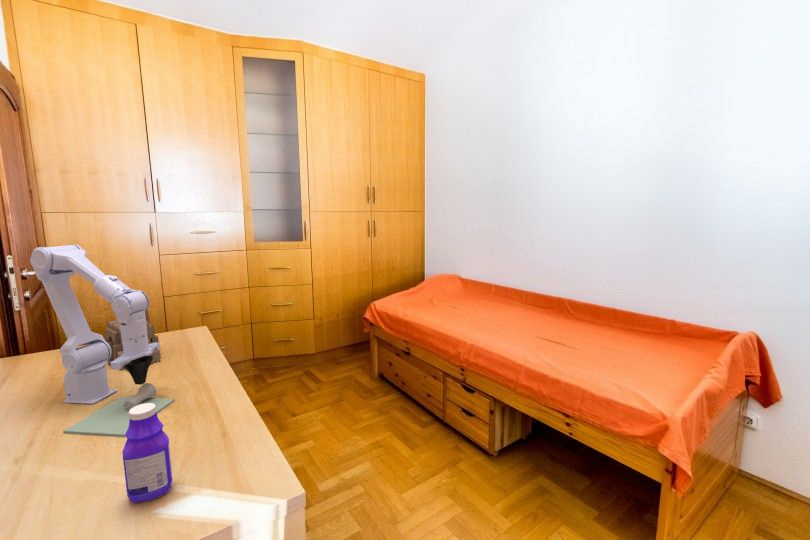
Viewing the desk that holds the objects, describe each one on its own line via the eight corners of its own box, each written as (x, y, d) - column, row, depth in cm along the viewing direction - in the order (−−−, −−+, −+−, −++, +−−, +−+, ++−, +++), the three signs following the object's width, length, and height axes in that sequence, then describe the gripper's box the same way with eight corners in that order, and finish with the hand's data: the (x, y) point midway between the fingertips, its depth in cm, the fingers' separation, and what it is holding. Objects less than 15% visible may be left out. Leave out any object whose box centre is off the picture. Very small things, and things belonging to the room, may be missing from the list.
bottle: (174, 477, 76) (166, 396, 73) (173, 495, 71) (163, 410, 68) (130, 489, 72) (119, 405, 69) (125, 510, 67) (113, 420, 65)
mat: (63, 433, 91) (63, 430, 90) (122, 398, 107) (122, 396, 107) (124, 436, 89) (124, 434, 89) (174, 401, 106) (174, 399, 106)
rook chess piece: (157, 397, 107) (136, 414, 100) (142, 394, 107) (120, 411, 100) (157, 383, 106) (136, 399, 99) (142, 380, 106) (120, 396, 99)
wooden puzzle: (99, 358, 137) (92, 309, 134) (145, 346, 148) (139, 301, 145) (120, 374, 124) (113, 319, 121) (168, 360, 135) (163, 310, 132)
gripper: (126, 346, 94) (132, 396, 96) (167, 328, 108) (172, 372, 110) (100, 345, 95) (107, 395, 97) (145, 327, 109) (150, 371, 111)
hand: (140, 383), depth 104 cm, fingers closed
